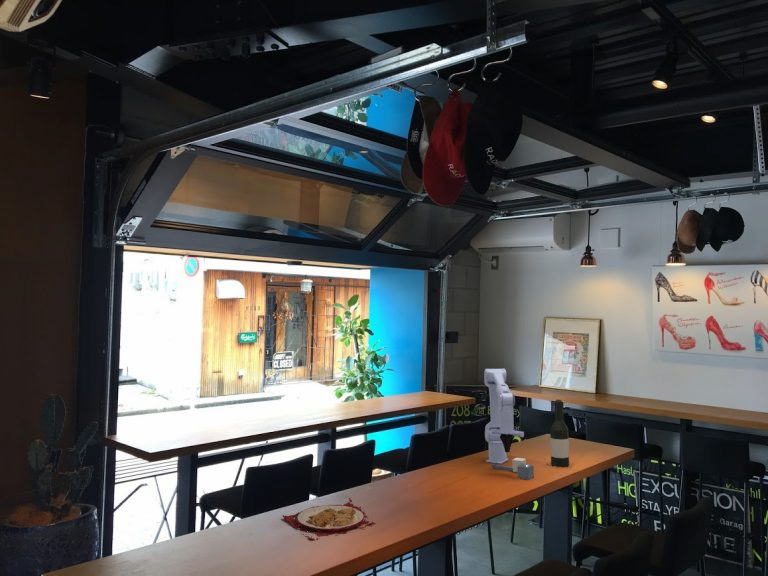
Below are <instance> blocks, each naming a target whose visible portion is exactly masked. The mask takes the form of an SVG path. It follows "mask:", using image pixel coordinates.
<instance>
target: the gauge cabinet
mask: <svg viewBox="0 0 768 576" xmlns="http://www.w3.org/2000/svg"><path fill="white" fill-rule="evenodd" d="M534 466H535V465H534V464H529V463H526V464H523V463H522V464H521V465H519V466H517V468H518V472H517V479H519V478H520V479H522V480H526V479H527V480H528V481H529V480H531V479H532V478H534V477H535V475H534V474H535V473H534V471H535V470H534ZM527 480H526V481H527Z"/></svg>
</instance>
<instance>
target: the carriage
mask: <svg viewBox="0 0 768 576" xmlns="http://www.w3.org/2000/svg"><path fill="white" fill-rule="evenodd" d="M522 463H523V464H527V458H522V457H515V458H513V459H512V462H511V464H512V467H513V473H518V468H517V466H519V465H521V464H522Z"/></svg>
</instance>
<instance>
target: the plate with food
mask: <svg viewBox="0 0 768 576" xmlns="http://www.w3.org/2000/svg"><path fill="white" fill-rule="evenodd" d="M348 500H349V501H348V502H346V503H344V504H343V505H342V504H328V505H327V504H326V505H316V506H312V507H308V508H306V509H304V510H301V511H300V512H297V513H295V514H290V515H284V514H282V518H283V519H284V520H285V521H287V522H289V524H290V525H291V526H292V527H294V529H295V528H296V529H295V530H297V528H300V529H299V531H300V532H301V531H302V532H305V533H311V534H314V535H315V536H317V537H316V538H315V537H313V536H309V535H307V538H308V539H309V540H315V541H317V540H319V538H320V537H329V536H333V535H344V534H349V533H350V531H351V530H353V529H358V528H359V527H360V528H359V529H360V530H364V529H366V528H367V527H373V526H374V525H377V524H376V522H375V521H371V522H370V520H366V519H368V516H367V515H366V512H365V511H362V508H361V506H359V507H358V506H355V505H354V504H353V500H352V499H351V497H349V498H348ZM371 524H372V525H371ZM363 525H364V526H363ZM307 531H308V532H307ZM302 534H303V536H305V535H304V533H302ZM318 537H319V538H318Z"/></svg>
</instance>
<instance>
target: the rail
mask: <svg viewBox="0 0 768 576" xmlns="http://www.w3.org/2000/svg"><path fill="white" fill-rule="evenodd" d="M491 470H498V471H505V470H506V471H505V472H512V471H513V466H509V465H501V464H497V463H492V464H491Z"/></svg>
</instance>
